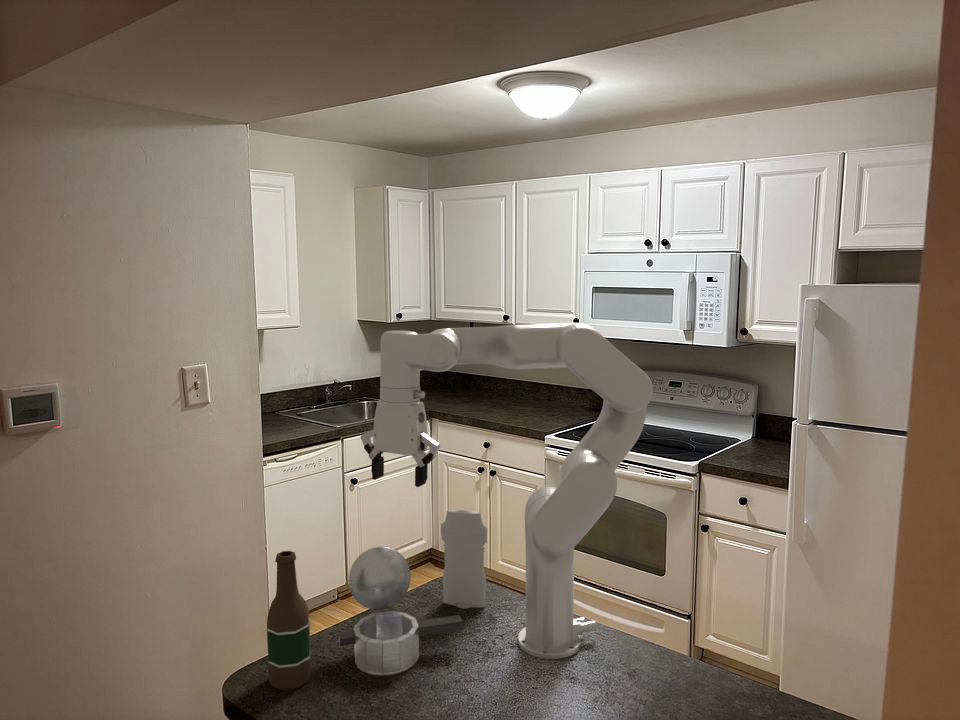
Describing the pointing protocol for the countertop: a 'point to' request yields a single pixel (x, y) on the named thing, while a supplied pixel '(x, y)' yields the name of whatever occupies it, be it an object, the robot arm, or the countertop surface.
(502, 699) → the countertop surface
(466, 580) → the tall pale column
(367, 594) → the lid
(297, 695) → the countertop surface
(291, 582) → the beer bottle
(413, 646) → the pot
